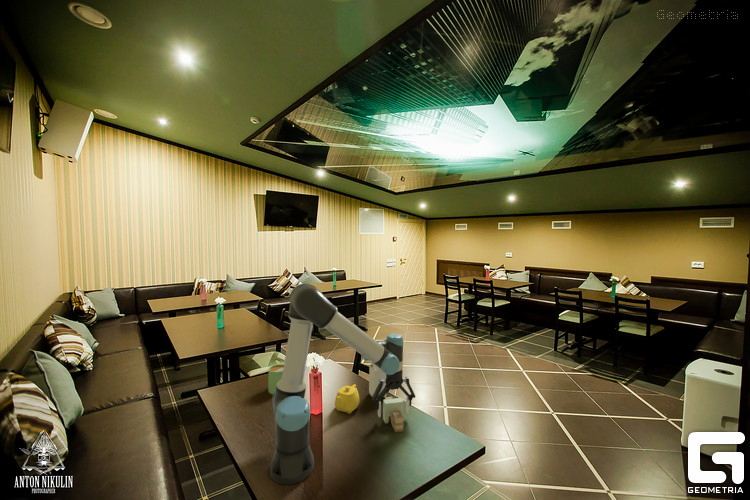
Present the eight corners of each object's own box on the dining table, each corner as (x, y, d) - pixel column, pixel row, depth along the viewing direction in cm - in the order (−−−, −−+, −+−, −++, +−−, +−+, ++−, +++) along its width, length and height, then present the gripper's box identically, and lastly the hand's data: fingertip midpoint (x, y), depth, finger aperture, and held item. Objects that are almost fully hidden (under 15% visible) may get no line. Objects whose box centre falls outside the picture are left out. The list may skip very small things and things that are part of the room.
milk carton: (368, 393, 162) (369, 358, 161) (380, 390, 165) (381, 356, 164) (374, 399, 156) (375, 363, 155) (386, 397, 159) (387, 361, 158)
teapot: (347, 422, 136) (347, 398, 136) (326, 416, 141) (327, 393, 140) (364, 402, 153) (365, 382, 152) (345, 397, 157) (346, 377, 157)
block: (403, 421, 138) (404, 401, 137) (384, 423, 136) (385, 403, 135) (401, 416, 141) (401, 397, 141) (382, 418, 139) (383, 399, 139)
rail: (403, 431, 130) (403, 418, 130) (395, 432, 129) (395, 418, 129) (391, 408, 148) (391, 396, 147) (384, 409, 147) (385, 397, 147)
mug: (292, 388, 166) (292, 366, 166) (276, 396, 157) (277, 373, 157) (276, 382, 173) (277, 361, 173) (261, 389, 164) (261, 367, 164)
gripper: (417, 363, 144) (416, 406, 145) (366, 367, 139) (365, 412, 139) (423, 369, 137) (422, 415, 137) (369, 374, 131) (368, 422, 132)
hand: (393, 414), depth 138 cm, fingers open, 13 cm apart
